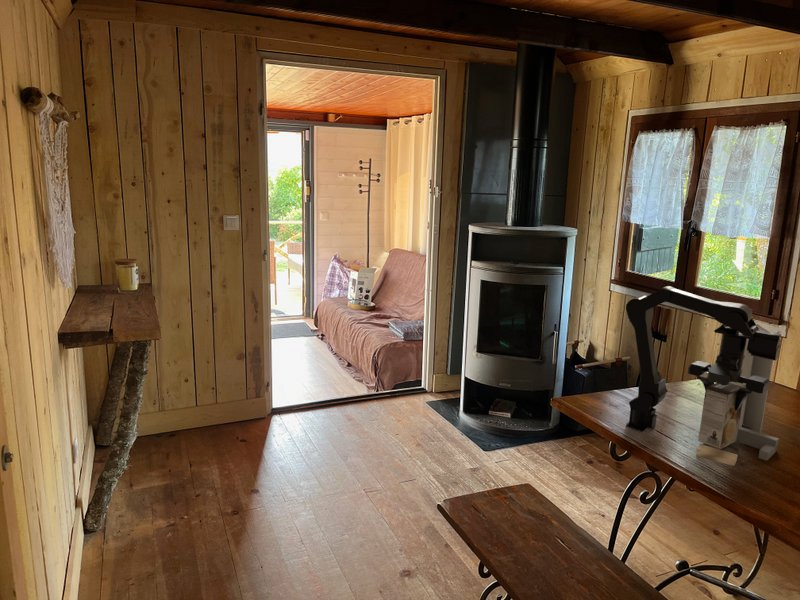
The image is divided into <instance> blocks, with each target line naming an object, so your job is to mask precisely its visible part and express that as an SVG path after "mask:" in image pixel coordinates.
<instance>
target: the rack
mask: <svg viewBox="0 0 800 600" xmlns="http://www.w3.org/2000/svg"><path fill="white" fill-rule="evenodd" d="M779 439H780V438H779V437H775V436H771V435H769V434H767V433H763V432H761V433H759V432H756V431H753V430H751V429H749V428H747V427H743V426H742V427H740V426H739V428H738V434H737V440H736V441H735V442H737V443H740V444H743V445H747V446H749V447H752V448H755V449H759V452H758V459H760V460H763V461H766V462H767V461H768V460H769V459H771V458H772V456H774V455H775V453H777V451H778V445H779Z"/></svg>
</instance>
